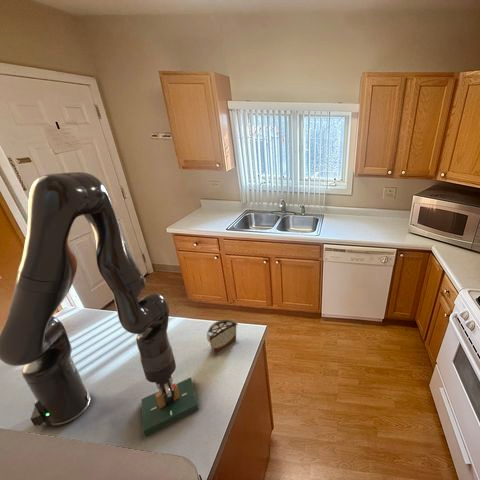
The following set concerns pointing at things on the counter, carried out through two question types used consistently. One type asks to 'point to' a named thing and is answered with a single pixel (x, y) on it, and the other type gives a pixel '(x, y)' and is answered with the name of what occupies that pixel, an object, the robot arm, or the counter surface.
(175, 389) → the handle
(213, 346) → the cake slice
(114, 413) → the counter surface
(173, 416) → the panel
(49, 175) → the robot arm
